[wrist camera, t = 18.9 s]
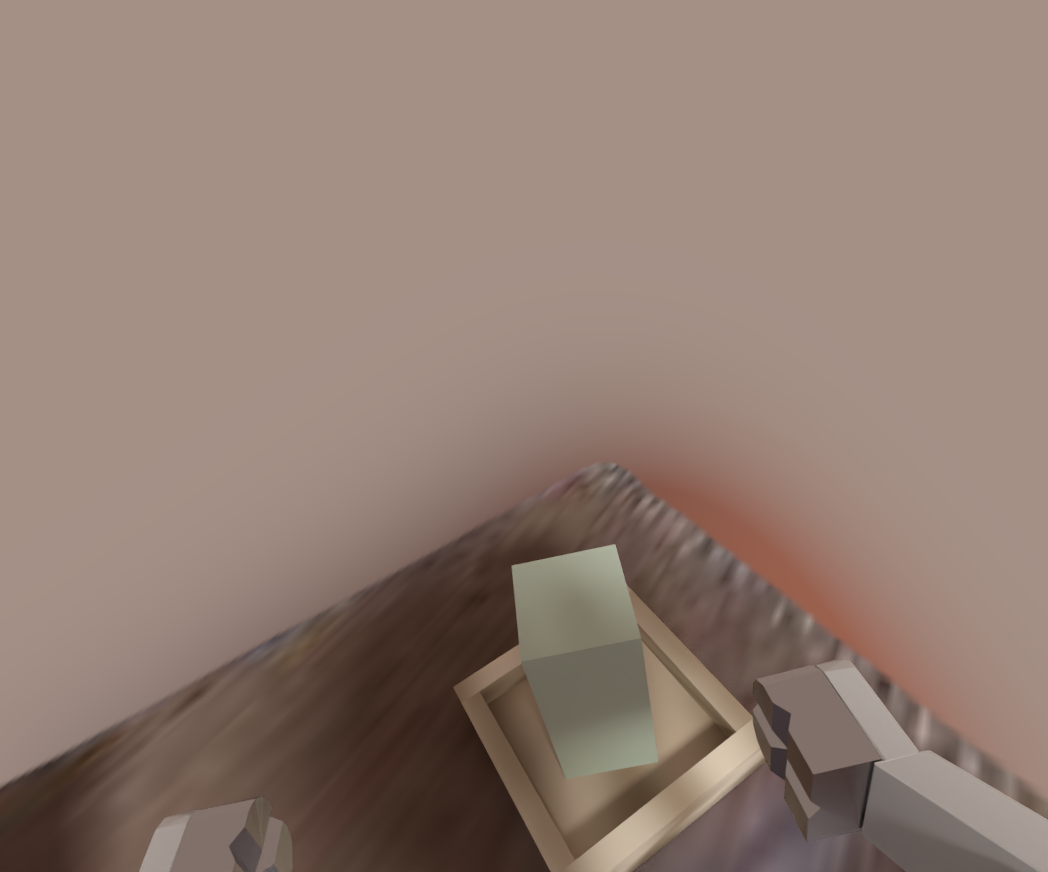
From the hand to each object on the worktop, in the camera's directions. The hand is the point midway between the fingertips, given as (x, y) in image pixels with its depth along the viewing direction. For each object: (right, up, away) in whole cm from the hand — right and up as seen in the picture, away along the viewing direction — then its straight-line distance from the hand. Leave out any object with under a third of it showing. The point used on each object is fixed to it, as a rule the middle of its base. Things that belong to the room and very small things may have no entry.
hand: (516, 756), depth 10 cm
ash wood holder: (+5, -12, +24) cm, 27 cm away
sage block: (+5, -11, +24) cm, 27 cm away
